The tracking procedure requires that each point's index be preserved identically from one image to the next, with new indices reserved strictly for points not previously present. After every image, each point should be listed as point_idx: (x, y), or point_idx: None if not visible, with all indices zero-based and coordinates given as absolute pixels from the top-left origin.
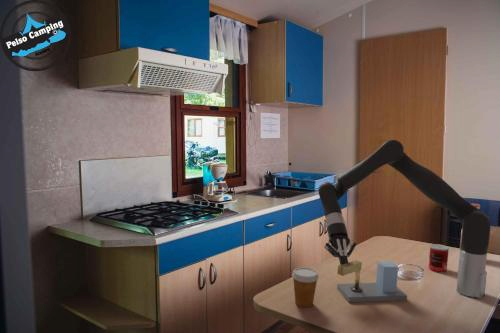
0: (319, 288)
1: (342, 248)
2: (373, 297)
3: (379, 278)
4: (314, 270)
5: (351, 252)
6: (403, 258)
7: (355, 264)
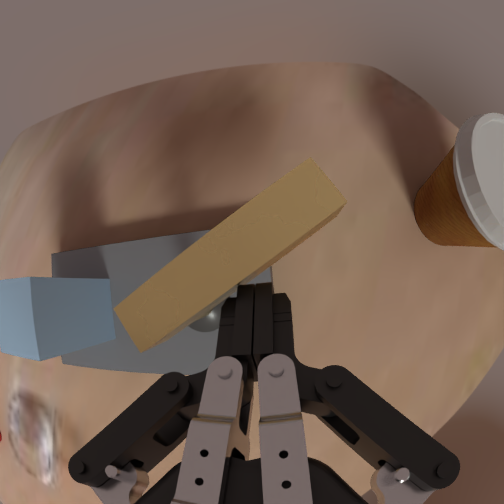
0: (360, 362)
1: (236, 460)
2: (155, 238)
3: (84, 316)
4: (487, 194)
5: (151, 390)
6: (42, 499)
7: (173, 260)
